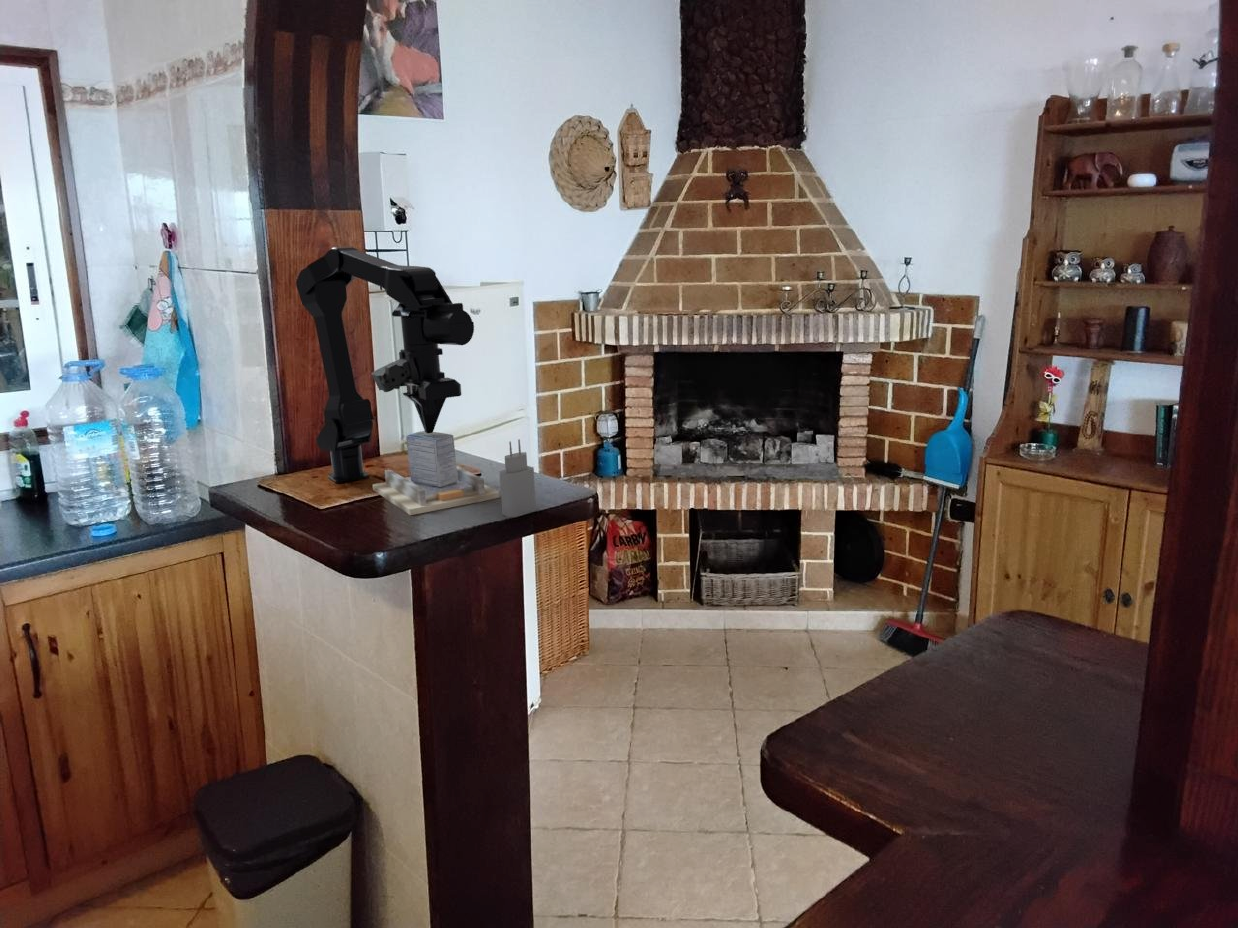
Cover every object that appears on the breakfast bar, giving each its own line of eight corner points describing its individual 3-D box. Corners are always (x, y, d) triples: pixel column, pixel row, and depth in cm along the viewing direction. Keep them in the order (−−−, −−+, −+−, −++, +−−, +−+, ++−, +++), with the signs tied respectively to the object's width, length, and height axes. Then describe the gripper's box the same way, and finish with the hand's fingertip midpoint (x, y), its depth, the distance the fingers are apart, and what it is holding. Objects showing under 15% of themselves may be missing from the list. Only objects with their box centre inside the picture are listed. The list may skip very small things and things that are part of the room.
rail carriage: (396, 484, 167) (396, 479, 167) (443, 476, 172) (443, 470, 171) (427, 503, 154) (426, 497, 154) (477, 494, 159) (476, 488, 158)
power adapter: (538, 509, 151) (533, 438, 149) (512, 517, 148) (507, 444, 145) (525, 506, 154) (521, 436, 151) (500, 514, 150) (495, 442, 147)
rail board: (373, 489, 168) (370, 471, 167) (455, 475, 176) (454, 457, 175) (410, 515, 151) (408, 494, 151) (499, 497, 159) (498, 478, 159)
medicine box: (458, 482, 163) (454, 434, 161) (439, 488, 159) (435, 439, 157) (429, 476, 168) (424, 429, 165) (409, 482, 164) (405, 434, 162)
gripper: (357, 343, 161) (367, 431, 165) (392, 352, 145) (402, 449, 149) (418, 337, 167) (427, 422, 170) (458, 345, 151) (466, 439, 155)
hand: (429, 432), depth 161 cm, fingers closed
